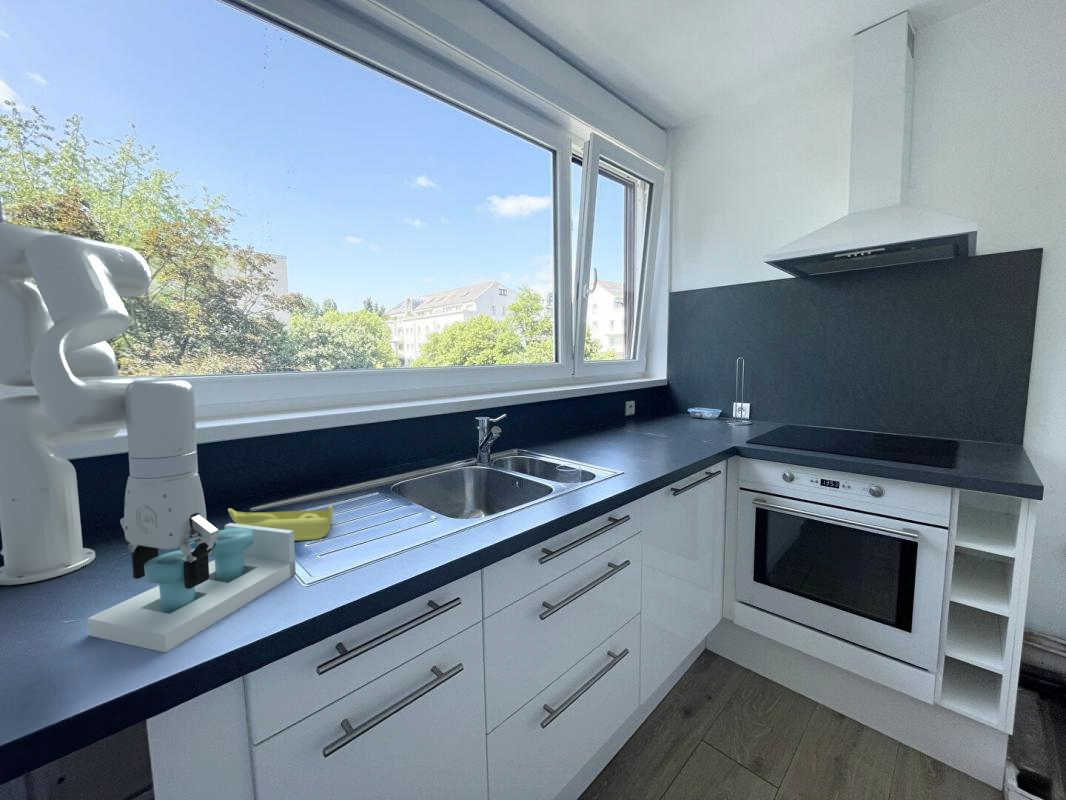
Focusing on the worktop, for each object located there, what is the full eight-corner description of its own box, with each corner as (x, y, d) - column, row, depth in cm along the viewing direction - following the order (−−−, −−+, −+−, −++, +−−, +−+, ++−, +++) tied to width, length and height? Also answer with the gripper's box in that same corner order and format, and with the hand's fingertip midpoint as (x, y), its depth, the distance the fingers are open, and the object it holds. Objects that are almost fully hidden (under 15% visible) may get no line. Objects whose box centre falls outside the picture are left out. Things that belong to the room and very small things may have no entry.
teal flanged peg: (195, 594, 72) (191, 541, 71) (233, 575, 78) (230, 525, 78) (228, 600, 70) (225, 545, 69) (264, 579, 77) (262, 529, 76)
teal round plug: (137, 627, 63) (131, 566, 62) (185, 602, 69) (180, 547, 69) (174, 634, 61) (168, 571, 60) (219, 607, 68) (215, 550, 67)
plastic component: (333, 510, 106) (331, 503, 97) (331, 542, 103) (329, 538, 95) (236, 513, 99) (225, 507, 90) (231, 548, 96) (219, 544, 88)
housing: (88, 635, 61) (83, 579, 60) (232, 564, 82) (230, 523, 82) (165, 652, 58) (161, 593, 57) (295, 574, 79) (293, 530, 78)
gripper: (89, 466, 62) (98, 583, 64) (185, 477, 58) (191, 601, 59) (148, 455, 69) (154, 560, 71) (236, 464, 65) (241, 575, 67)
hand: (171, 579), depth 65 cm, fingers open, 9 cm apart
